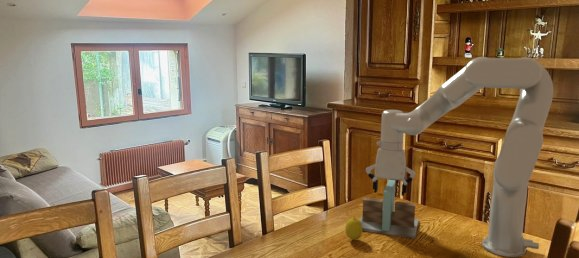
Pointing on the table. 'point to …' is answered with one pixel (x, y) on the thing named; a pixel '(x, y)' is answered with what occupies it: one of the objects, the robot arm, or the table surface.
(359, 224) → the lemon
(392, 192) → the notched plate
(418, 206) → the table surface
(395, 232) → the base
